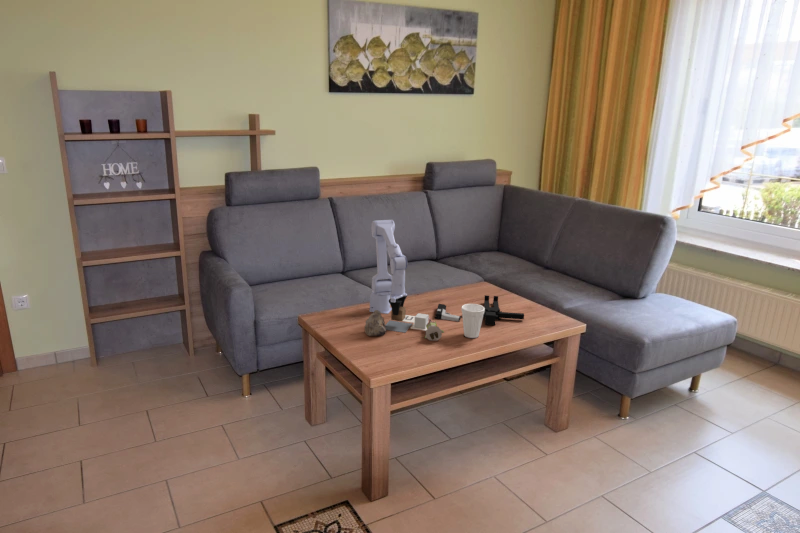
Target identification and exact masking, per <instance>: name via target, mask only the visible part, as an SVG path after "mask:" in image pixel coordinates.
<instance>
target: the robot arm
mask: <svg viewBox="0 0 800 533" xmlns="http://www.w3.org/2000/svg"><path fill="white" fill-rule="evenodd" d="M370 227H371V237H372V238H373V239H375V250H376V252H375V253H376V254H375V255H376V270H377V273H376V274H374V275H373V276H371V277H372V278H371V291H372V292H371V293H370V296H369V312H371V313H374V311H375V310H378V311H380V313H381V314H384V315H388V314H390V313H391V310H392V312H393V315H398V314H399V308H400V306H402V307H404V304H405V301H406V299H407V297H408V293H406V288H405V287H406V270H407V269H408V265H409V264H408V258H407V256H406V255H404V254H403V252H402V249H401V247H400V245H399V243H396V240H395V235H394V232H395V229H396V224H395V221H394V219H382V220H381V219H380V220H379V219H378V220H376V219H375V220H373V221H371V226H370ZM387 254H388V256H389V260H390V262H389V266H390V273H391V274H390V273H389V271H388V256H387Z"/></svg>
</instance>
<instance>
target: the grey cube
mask: <svg viewBox="0 0 800 533" xmlns="http://www.w3.org/2000/svg"><path fill="white" fill-rule="evenodd" d="M414 316H415V325H414V328H421V329H426V325H427V323H429V319H428V318H429V317H430V315H429V314H426V313H419V312H418V313H417V314H416V315H414Z"/></svg>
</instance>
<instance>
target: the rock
mask: <svg viewBox="0 0 800 533" xmlns="http://www.w3.org/2000/svg"><path fill="white" fill-rule="evenodd" d="M385 325H386V321H385V318H384V317H383V316H382V313H380V311H378V310H375V311H374V312H371V314H370V315H369V316H368V318H367V319H366V320H365V325H364V333H365V334H366V335H367V336H368V337H374V336H378V337H379V336H380V337H383V336H384V335H386V333H387V330H386V328H385V327H386V326H385Z"/></svg>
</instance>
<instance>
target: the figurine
mask: <svg viewBox="0 0 800 533" xmlns="http://www.w3.org/2000/svg"><path fill="white" fill-rule="evenodd" d="M437 324H438V323H437V321H436V320H435V321H434V320H433V321H432V318H431V316H429V318H428V323H427V325H426V327H427V330H426V331H425V336H424V339H427V340H428V341H437V342H438V341H439V340H440V339H441V338H442V335H443V333H445V331H444V329H441V328H440V327H439V326H438V325H437Z"/></svg>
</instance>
